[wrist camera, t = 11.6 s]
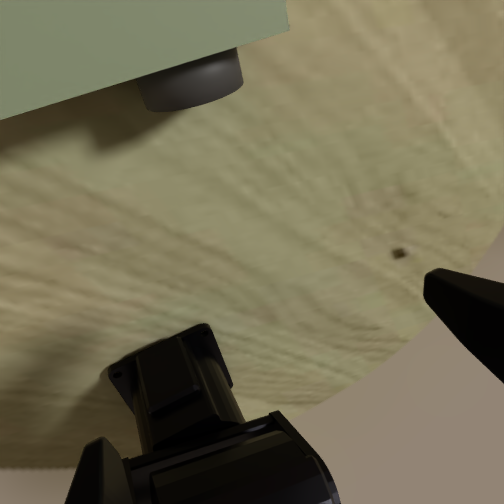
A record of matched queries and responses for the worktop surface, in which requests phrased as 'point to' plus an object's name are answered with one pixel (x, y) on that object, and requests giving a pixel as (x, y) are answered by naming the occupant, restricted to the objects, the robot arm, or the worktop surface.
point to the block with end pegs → (128, 48)
